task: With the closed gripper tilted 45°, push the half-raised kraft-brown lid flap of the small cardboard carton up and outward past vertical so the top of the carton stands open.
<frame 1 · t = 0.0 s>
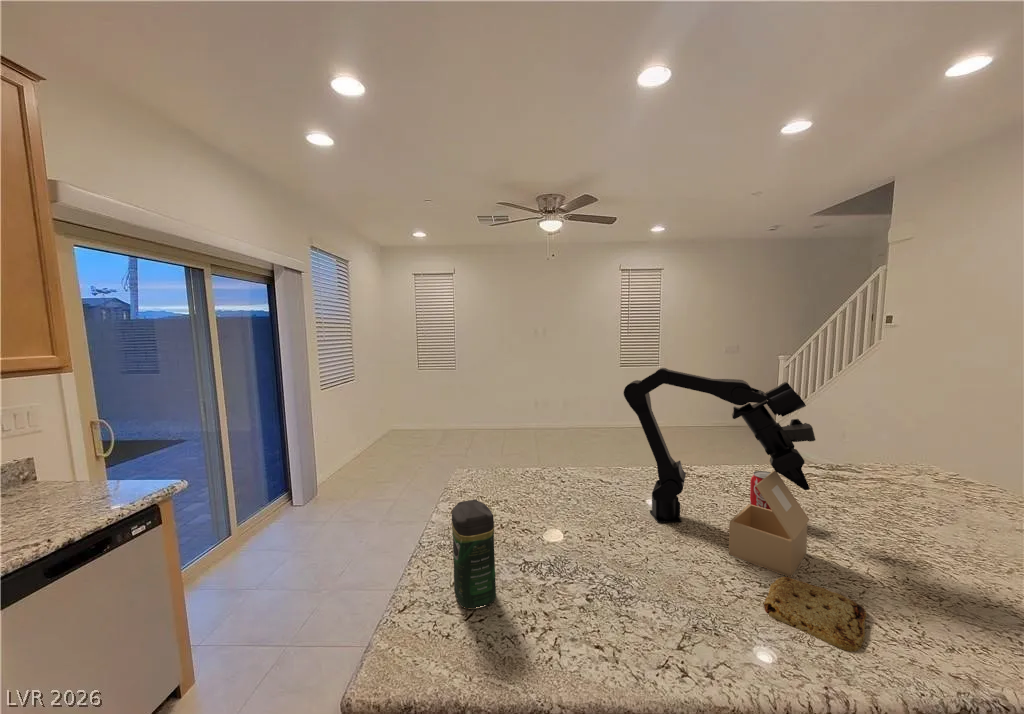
hand: (803, 482, 94), 15 cm above the worktop, tool tilted 35°, fingers open, 9 cm apart
pastry: (814, 616, 72), on the worktop
lid flap: (783, 502, 88), point 13 cm above the worktop, hinge at 55.0°
coffee jar: (475, 595, 80), on the worktop
carton: (767, 553, 91), on the worktop
soda can: (764, 517, 108), on the worktop
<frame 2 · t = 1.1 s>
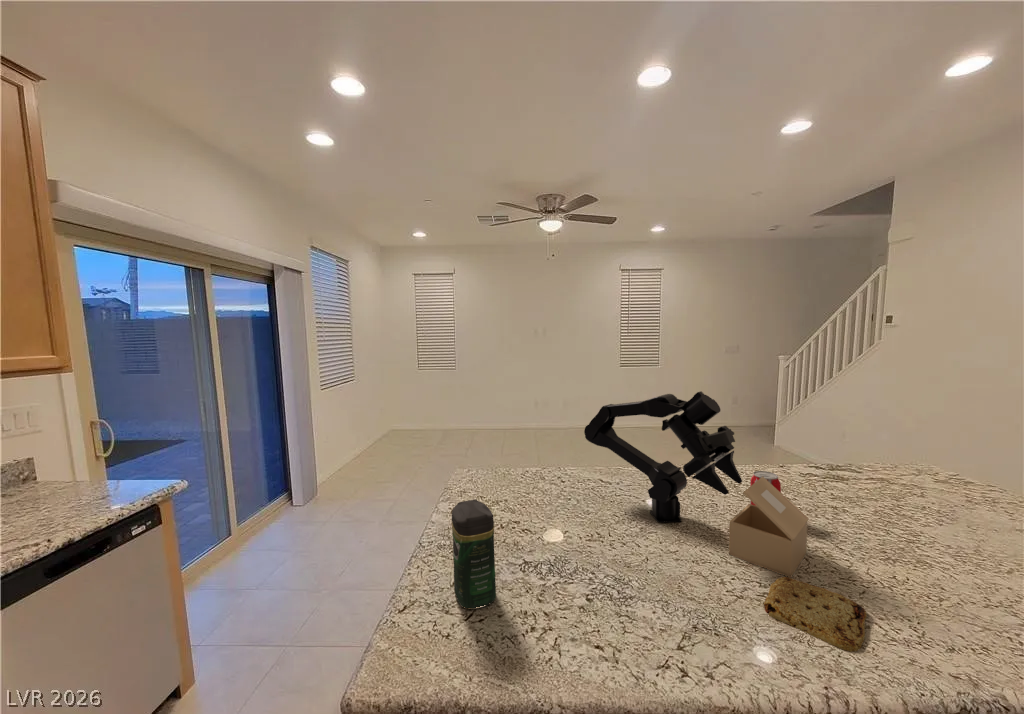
hand: (734, 488, 96), 13 cm above the worktop, tool tilted 45°, fingers open, 9 cm apart
lid flap: (776, 505, 89), point 12 cm above the worktop, hinge at 38.4°
everything else where it was.
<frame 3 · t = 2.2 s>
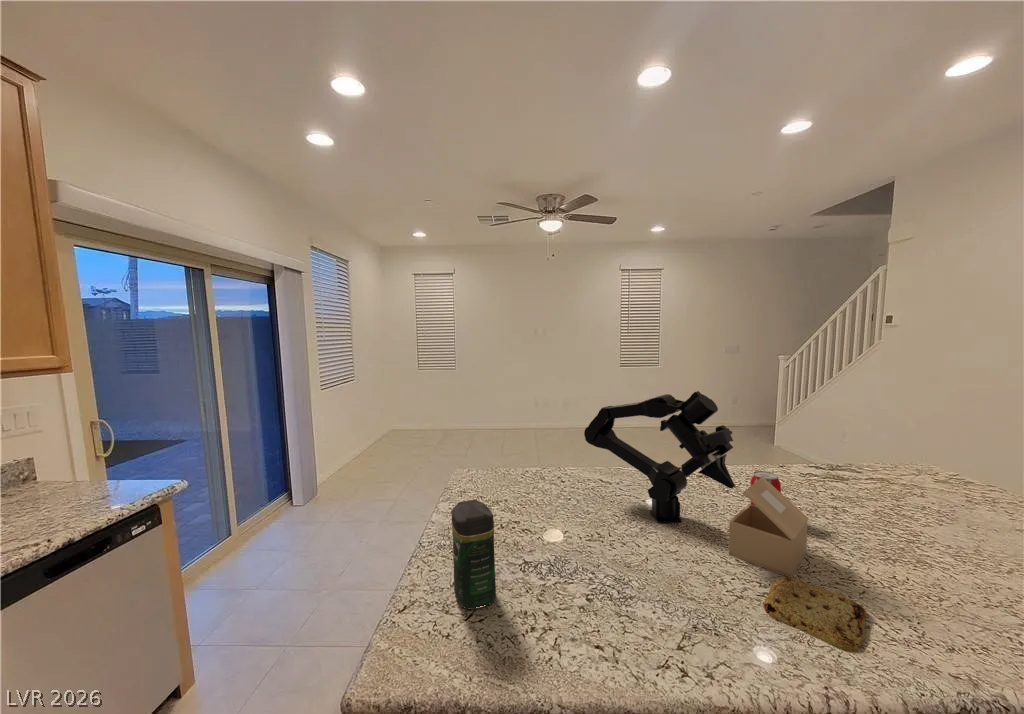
hand: (733, 487, 96), 14 cm above the worktop, tool tilted 45°, fingers closed
nothing on the worktop moved.
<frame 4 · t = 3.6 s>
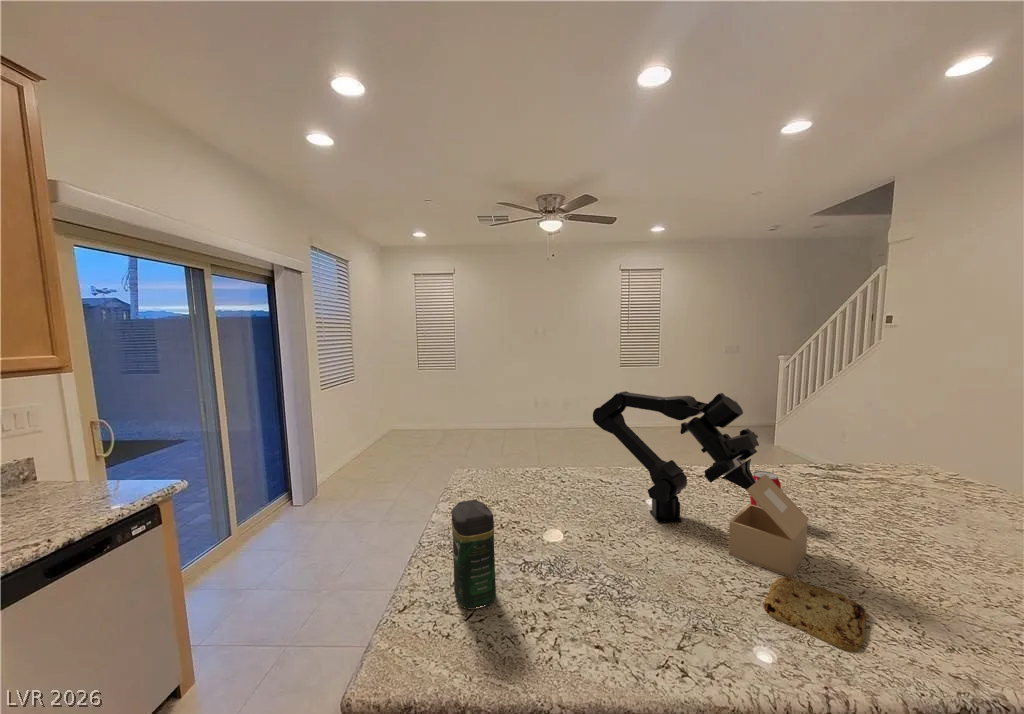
hand: (758, 493, 92), 14 cm above the worktop, tool tilted 45°, fingers closed, pressing on lid flap
lid flap: (778, 504, 89), point 12 cm above the worktop, hinge at 43.2°, touching gripper
everything else where it was.
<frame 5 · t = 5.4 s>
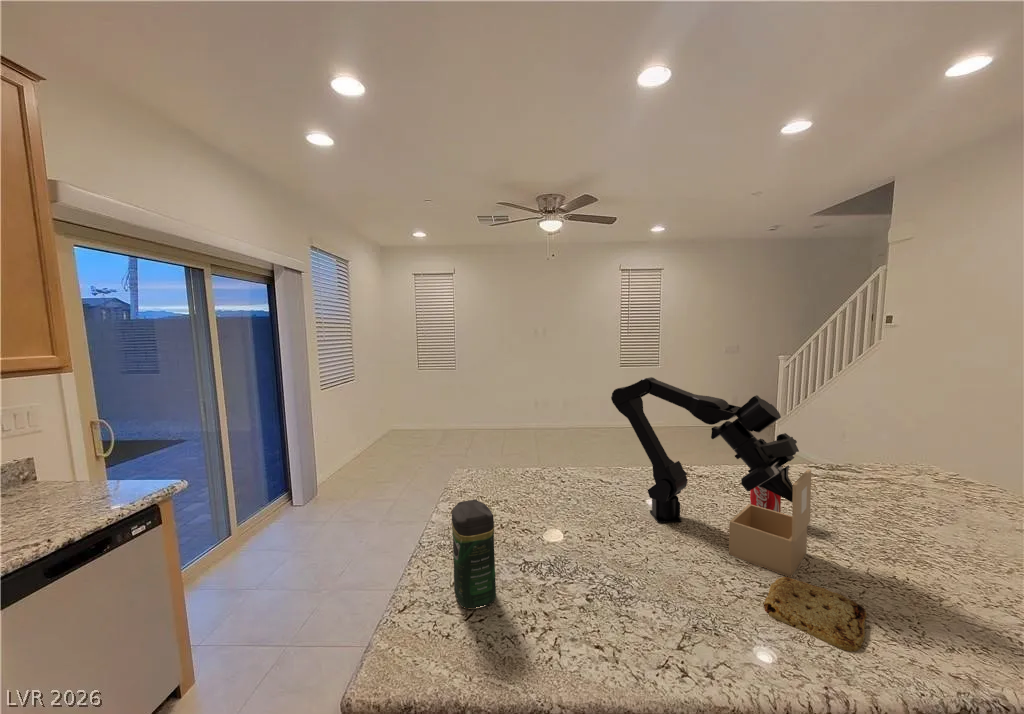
hand: (799, 503, 86), 14 cm above the worktop, tool tilted 45°, fingers closed, pressing on lid flap
lid flap: (802, 503, 85), point 14 cm above the worktop, hinge at 89.8°, touching gripper
everything else where it was.
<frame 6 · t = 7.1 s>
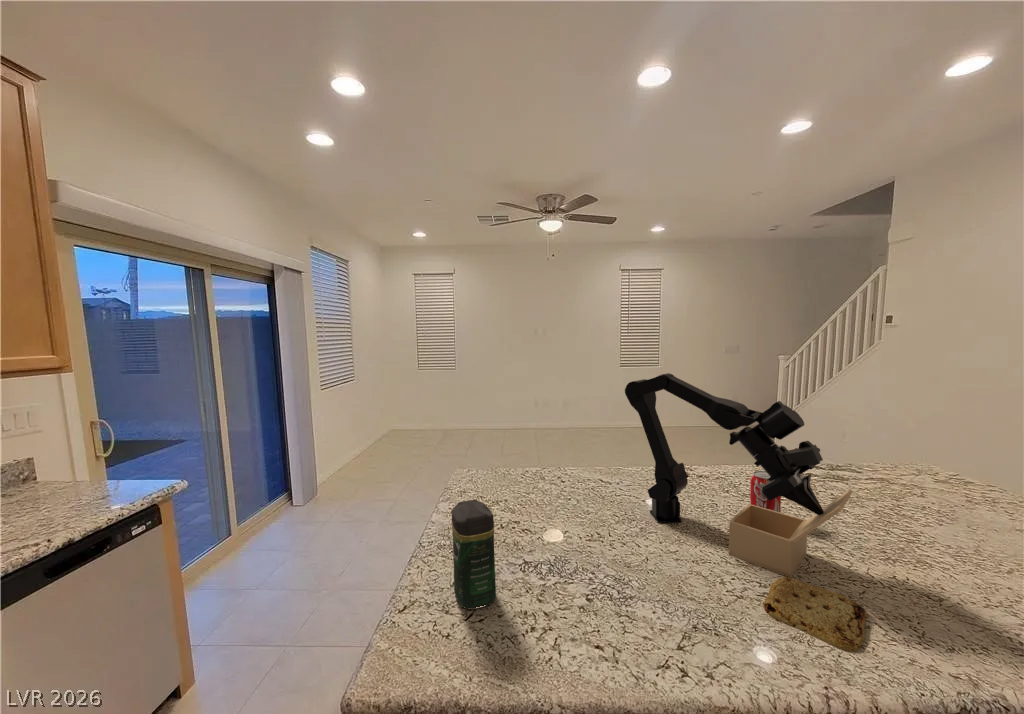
hand: (821, 513, 83), 13 cm above the worktop, tool tilted 45°, fingers closed
lid flap: (823, 516, 83), point 13 cm above the worktop, hinge at 127.8°
everything else where it was.
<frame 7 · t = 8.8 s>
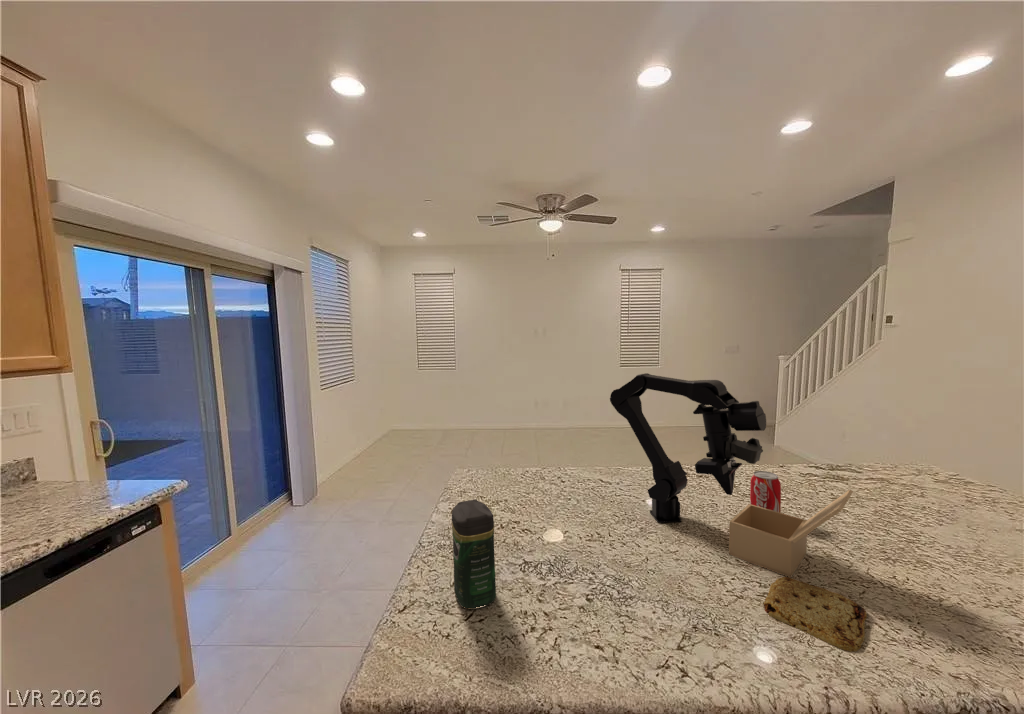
hand: (729, 494, 96), 12 cm above the worktop, tool pointing down, fingers closed
nothing on the worktop moved.
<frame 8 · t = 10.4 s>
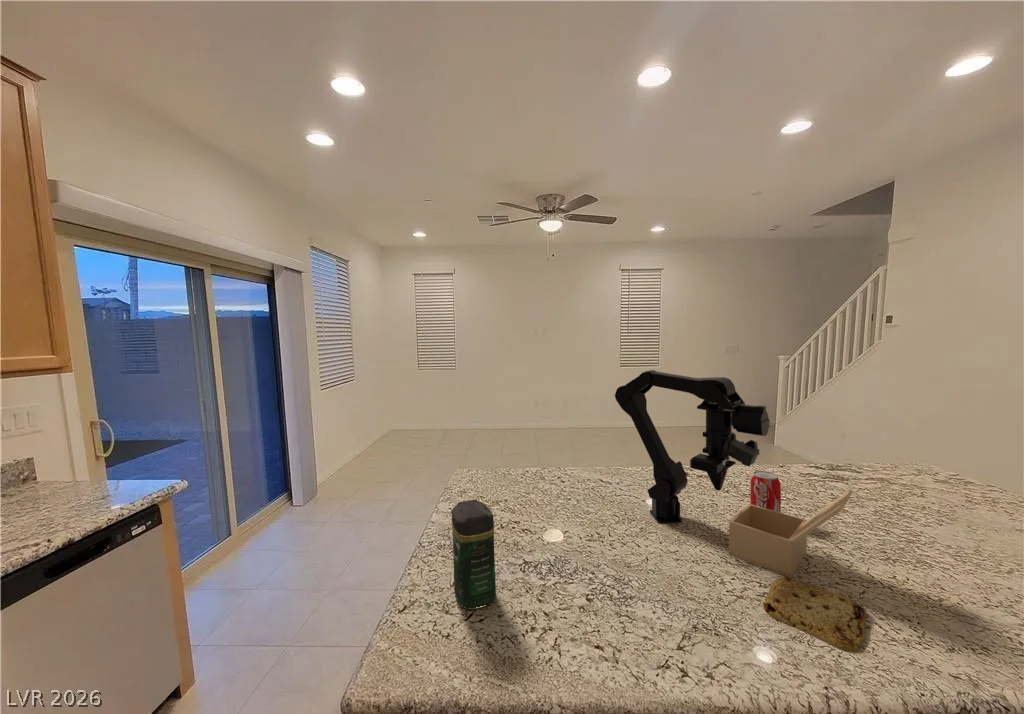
hand: (718, 489, 98), 12 cm above the worktop, tool pointing down, fingers closed
nothing on the worktop moved.
at the end: lid flap at +128° (first picture: +55°) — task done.
